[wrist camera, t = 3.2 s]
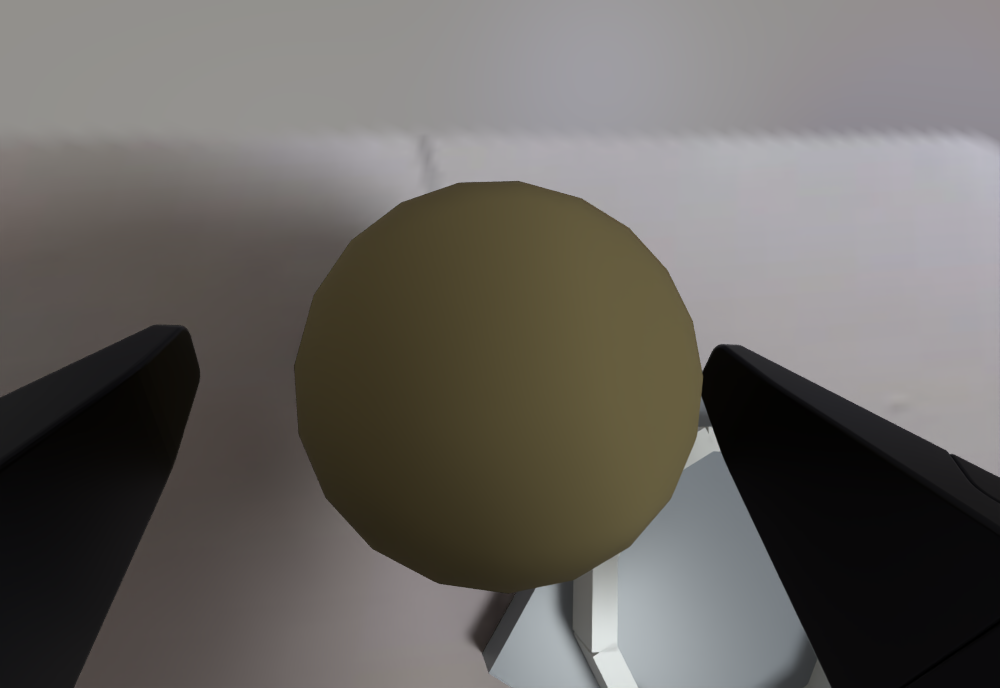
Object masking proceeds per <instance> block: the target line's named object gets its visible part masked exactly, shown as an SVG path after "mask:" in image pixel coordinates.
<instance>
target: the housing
mask: <svg viewBox="0 0 1000 688" xmlns="http://www.w3.org/2000/svg"><path fill="white" fill-rule="evenodd" d="M702 372H703V371H702ZM482 654H483V657H484V660H485V663H486V666H487V669H488V672H489V674H491V675H492V676H494V677H496V678H497V679H499V680H500V681H502V682H504V683H505V684H507V685H508V686H510V687H512V688H831V686H830V684H829V682H828V680H827V678H826V676H825V674H824V672H823V669H822V667H821V665H820V663H819V661H818V659H817V657H816V655H815V653H814V650H813V648H812V646H811V644H810V642H809V640H808V638H807V636H806V633H805V631H804V629H803V627H802V625H801V623H800V621H799V619H798V616H797V614H796V612H795V610H794V608H793V606H792V604H791V602H790V600H789V597H788V595H787V593H786V591H785V589H784V587H783V585H782V583H781V580H780V578H779V576H778V574H777V572H776V570H775V568H774V566H773V564H772V561H771V559H770V557H769V555H768V553H767V551H766V549H765V547H764V544H763V542H762V540H761V538H760V536H759V534H758V532H757V530H756V527H755V525H754V523H753V521H752V519H751V517H750V515H749V513H748V511H747V508H746V506H745V504H744V502H743V500H742V498H741V496H740V494H739V491H738V489H737V487H736V485H735V483H734V481H733V479H732V477H731V475H730V472H729V470H728V468H727V466H726V463H725V461H724V459H723V456H722V454H721V451H720V448H719V445H718V443H717V440H716V437H715V434H714V431H713V428H712V425H711V423H710V420H709V417H708V414H707V411H706V408H705V406H704V403H703V400H702V397H701V402H700V412H699V422H698V432H697V437H696V440H695V443H694V446H693V448H692V450H691V453H690V455H689V457H688V460H687V462H686V465H685V467H684V469H683V472H682V474H681V476H680V479H679V481H678V484H677V486H676V488H675V491H674V493H673V495H672V498H671V500H670V501H669V502H668V503H667V504H666V505H665V507H664V508H663V509H662V510H661V511H660V512H659V514H658V515H657V516H656V517H655V518H654V519H653V521H652V522H651V523H650V524H649V525H648V526H647V528H646V529H645V530H644V531H643V532H642V533H641V535H640V536H639V537H638V538H637V539H636V540H635V541H634V543H633V544H632V545H631V546H630V547H629V548H627V549H626V550H624V551H622V552H620V553H619V554H617V555H615V556H614V557H612V558H610V559H609V560H607V561H605V562H604V563H602V564H600V565H599V566H597V567H595V568H594V569H592V570H590V571H589V572H587V573H585V574H584V575H582V576H580V577H579V578H577V579H575V580H572V581H568V582H563V583H558V584H553V585H548V586H543V587H538V588H533V589H528V590H523V591H518V592H516V594H515V596H514V598H513V600H512V601H511V603H510V605H509V607H508V608H507V610H506V612H505V614H504V616H503V617H502V619H501V621H500V623H499V625H498V626H497V628H496V630H495V632H494V633H493V635H492V637H491V639H490V641H489V642H488V644H487V646H486V648H485V650H484V651H483V653H482Z"/></svg>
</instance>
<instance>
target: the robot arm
mask: <svg viewBox="0 0 1000 688" xmlns="http://www.w3.org/2000/svg"><path fill="white" fill-rule="evenodd" d="M702 374H703V383H702V393H701V397H702V400H703V403H704V406H705V408H706V411H707V414H708V417H709V420H710V423H711V425H712V428H713V431H714V434H715V437H716V440H717V443H718V445H719V448H720V451H721V454H722V456H723V459H724V461H725V463H726V466H727V468H728V470H729V472H730V475H731V477H732V479H733V481H734V483H735V485H736V487H737V489H738V491H739V494H740V496H741V498H742V500H743V502H744V504H745V506H746V508H747V511H748V513H749V515H750V517H751V519H752V521H753V523H754V525H755V527H756V530H757V532H758V534H759V536H760V538H761V540H762V542H763V544H764V547H765V549H766V551H767V553H768V555H769V557H770V559H771V561H772V564H773V566H774V568H775V570H776V572H777V574H778V576H779V578H780V580H781V583H782V585H783V587H784V589H785V591H786V593H787V595H788V597H789V600H790V602H791V604H792V606H793V608H794V610H795V612H796V614H797V616H798V619H799V621H800V623H801V625H802V627H803V629H804V631H805V633H806V636H807V638H808V640H809V642H810V644H811V646H812V648H813V650H814V653H815V655H816V657H817V659H818V661H819V663H820V665H821V667H822V669H823V672H824V674H825V676H826V678H827V680H828V682H829V684H830V686H831V688H1000V477H998V476H996V475H994V474H992V473H990V472H988V471H986V470H984V469H982V468H980V467H978V466H976V465H974V464H972V463H970V462H968V461H966V460H964V459H962V458H960V457H958V456H956V455H954V454H949V453H948V452H947V451H946V450H944V449H942V448H940V447H938V446H936V445H934V444H932V443H931V442H929V441H927V440H925V439H923V438H921V437H919V436H917V435H915V434H913V433H911V432H909V431H907V430H905V429H903V428H901V427H899V426H897V425H895V424H893V423H891V422H889V421H888V420H886V419H884V418H882V417H880V416H878V415H876V414H874V413H872V412H870V411H868V410H866V409H864V408H862V407H860V406H858V405H856V404H854V403H852V402H850V401H848V400H846V399H845V398H843V397H841V396H839V395H837V394H835V393H833V392H831V391H829V390H827V389H825V388H823V387H821V386H819V385H817V384H815V383H813V382H811V381H809V380H807V379H805V378H804V377H802V376H800V375H798V374H796V373H794V372H792V371H790V370H788V369H786V368H784V367H782V366H780V365H778V364H776V363H774V362H772V361H770V360H768V359H766V358H764V357H762V356H761V355H759V354H757V353H755V352H753V351H751V350H749V349H747V348H745V347H743V346H741V345H729V344H720V345H718V346H716V347H715V348H714V349H713V351H712V353H711V355H710V357H709V359H708V361H707V363H706V366H705V368H704V370H703V372H702ZM199 380H200V368H199V364H198V361H197V357H196V353H195V350H194V346H193V343H192V339H191V335H190V333H189V331H188V330H187V328H185V327H184V326H181V325H153V326H150V327H148V328H146V329H144V330H142V331H140V332H138V333H136V334H134V335H131V336H129V337H127V338H125V339H123V340H121V341H119V342H117V343H115V344H112V345H110V346H108V347H106V348H104V349H102V350H100V351H98V352H96V353H93V354H91V355H89V356H87V357H85V358H83V359H81V360H79V361H77V362H74V363H72V364H70V365H68V366H66V367H64V368H62V369H60V370H57V371H55V372H53V373H51V374H49V375H47V376H45V377H43V378H41V379H38V380H36V381H34V382H32V383H30V384H28V385H26V386H24V387H22V388H19V389H17V390H15V391H13V392H11V393H9V394H7V395H5V396H3V397H0V688H74V686H75V684H76V682H77V679H78V677H79V675H80V673H81V670H82V668H83V666H84V664H85V662H86V659H87V657H88V655H89V653H90V651H91V648H92V646H93V644H94V642H95V639H96V637H97V635H98V633H99V631H100V628H101V626H102V624H103V622H104V619H105V617H106V615H107V613H108V611H109V608H110V606H111V604H112V602H113V600H114V597H115V595H116V593H117V591H118V588H119V586H120V584H121V582H122V580H123V577H124V575H125V573H126V571H127V569H128V566H129V564H130V562H131V560H132V557H133V555H134V553H135V551H136V549H137V546H138V544H139V542H140V540H141V538H142V535H143V533H144V531H145V529H146V526H147V524H148V522H149V520H150V518H151V515H152V513H153V511H154V509H155V507H156V504H157V502H158V500H159V498H160V495H161V493H162V491H163V489H164V487H165V484H166V482H167V480H168V477H169V475H170V473H171V470H172V468H173V465H174V462H175V459H176V456H177V453H178V450H179V447H180V444H181V440H182V437H183V434H184V431H185V427H186V424H187V421H188V417H189V414H190V411H191V408H192V404H193V401H194V398H195V394H196V391H197V388H198V385H199Z"/></svg>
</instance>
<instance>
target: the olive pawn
mask: <svg viewBox="0 0 1000 688" xmlns="http://www.w3.org/2000/svg"><path fill="white" fill-rule="evenodd" d="M294 371H295V386H296V401H297V417H298V432H299V436H300V438H301V441H302V443H303V446H304V448H305V450H306V453H307V455H308V457H309V460H310V462H311V464H312V467H313V469H314V472H315V474H316V476H317V479H318V481H319V483H320V486H321V488H322V490H323V493H324V495H325V497H326V499H327V500H328V501H329V502H330V503H331V504H332V505H333V506H334V507H335V509H336V510H337V511H338V512H339V513H340V514H341V515H342V516H343V517H344V518H345V519H346V521H347V522H348V523H349V524H350V525H351V526H352V527H353V528H354V529H355V530H356V532H357V533H358V534H359V535H360V536H361V537H362V538H363V539H364V540H365V541H366V542H367V544H368V545H369V546H370V547H371V548H372V549H374V550H376V551H377V552H379V553H381V554H383V555H385V556H387V557H389V558H391V559H393V560H394V561H396V562H398V563H400V564H402V565H404V566H406V567H408V568H410V569H411V570H413V571H415V572H417V573H419V574H421V575H423V576H425V577H426V578H428V579H430V580H432V581H434V582H437V583H439V584H445V585H452V586H459V587H466V588H473V589H480V590H487V591H494V592H501V593H508V594H509V593H514V592H518V591H523V590H528V589H533V588H538V587H543V586H548V585H553V584H558V583H563V582H568V581H572V580H575V579H577V578H579V577H580V576H582V575H584V574H585V573H587V572H589V571H590V570H592V569H594V568H595V567H597V566H599V565H600V564H602V563H604V562H605V561H607V560H609V559H610V558H612V557H614V556H615V555H617V554H619V553H620V552H622V551H624V550H626V549H627V548H629V547H630V546H631V545H632V544H633V543H634V541H635V540H636V539H637V538H638V537H639V536H640V535H641V533H642V532H643V531H644V530H645V529H646V528H647V526H648V525H649V524H650V523H651V522H652V521H653V519H654V518H655V517H656V516H657V515H658V514H659V512H660V511H661V510H662V509H663V508H664V507H665V505H666V504H667V503H668V502H669V501H670V500H671V498H672V495H673V493H674V491H675V488H676V486H677V484H678V481H679V479H680V476H681V474H682V472H683V469H684V467H685V465H686V462H687V460H688V457H689V455H690V453H691V450H692V448H693V446H694V443H695V440H696V437H697V432H698V422H699V412H700V402H701V393H702V383H703V374H702V369H701V363H700V358H699V353H698V347H697V342H696V336H695V331H694V326H693V321H692V319H691V317H690V315H689V313H688V311H687V309H686V307H685V305H684V303H683V301H682V299H681V296H680V294H679V292H678V290H677V288H676V286H675V284H674V282H673V280H672V278H671V276H670V274H669V272H668V270H667V269H666V268H665V267H664V266H663V265H662V264H661V262H660V261H659V260H658V259H657V258H656V257H655V256H654V255H653V254H652V253H651V251H650V250H649V249H648V248H647V247H646V246H645V245H644V244H643V243H642V242H641V240H640V239H639V238H638V237H637V236H636V235H635V234H634V233H633V232H632V231H631V229H630V228H628V227H627V226H625V225H623V224H622V223H620V222H619V221H617V220H615V219H614V218H612V217H610V216H609V215H607V214H606V213H604V212H602V211H601V210H599V209H598V208H596V207H594V206H593V205H591V204H590V203H588V202H586V201H585V200H583V199H581V198H578V197H575V196H571V195H567V194H564V193H560V192H556V191H553V190H549V189H545V188H542V187H538V186H535V185H531V184H527V183H524V182H520V181H503V182H465V183H457V184H454V185H451V186H448V187H445V188H442V189H439V190H436V191H433V192H431V193H428V194H425V195H422V196H419V197H416V198H413V199H410V200H407V201H404V202H402V203H400V204H399V205H397V206H396V207H395V208H393V209H392V210H391V211H390V212H388V213H387V214H386V215H384V216H383V217H382V218H380V219H379V220H378V221H376V222H375V223H374V224H372V225H371V226H370V227H368V228H367V229H366V230H364V231H363V232H362V233H361V234H359V235H358V236H357V237H355V238H354V239H353V240H351V241H350V243H349V244H348V246H347V247H346V249H345V250H344V252H343V253H342V255H341V256H340V258H339V259H338V260H337V262H336V263H335V265H334V266H333V268H332V269H331V271H330V272H329V274H328V275H327V277H326V278H325V280H324V281H323V283H322V284H321V285H320V287H319V288H318V290H317V291H316V293H315V294H314V297H313V300H312V303H311V307H310V311H309V314H308V318H307V322H306V325H305V329H304V332H303V336H302V340H301V343H300V347H299V351H298V354H297V358H296V362H295V365H294Z"/></svg>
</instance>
